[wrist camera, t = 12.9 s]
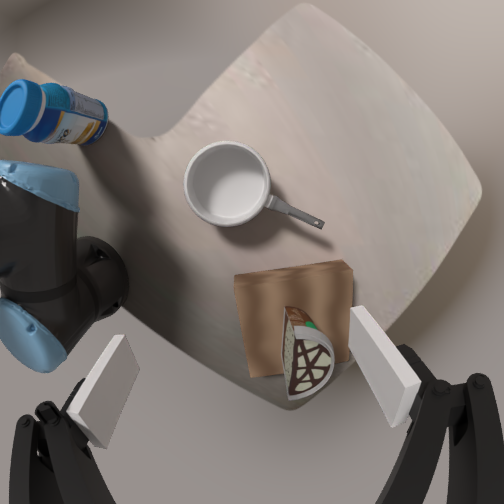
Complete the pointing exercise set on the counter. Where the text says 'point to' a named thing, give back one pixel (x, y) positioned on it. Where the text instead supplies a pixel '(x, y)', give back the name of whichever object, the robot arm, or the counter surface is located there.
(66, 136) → the beverage bottle
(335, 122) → the counter surface
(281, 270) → the walnut base
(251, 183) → the saucepan
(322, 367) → the food container
